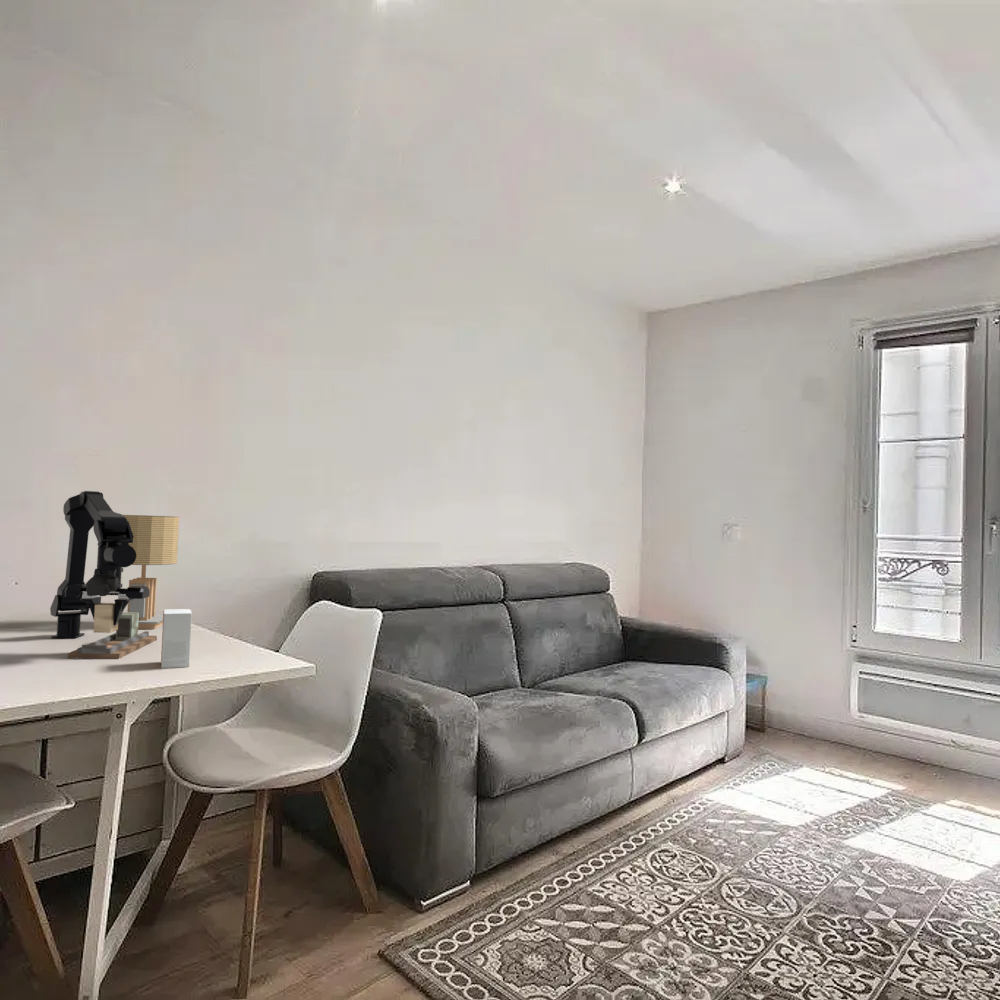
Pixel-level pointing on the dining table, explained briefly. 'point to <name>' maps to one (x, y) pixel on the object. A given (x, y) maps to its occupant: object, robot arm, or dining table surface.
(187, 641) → the small box
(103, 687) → the dining table surface
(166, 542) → the desk lamp
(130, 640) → the rail base
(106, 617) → the tan wooden block
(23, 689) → the dining table surface
